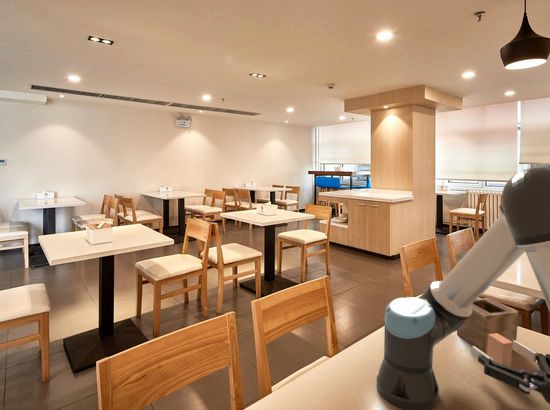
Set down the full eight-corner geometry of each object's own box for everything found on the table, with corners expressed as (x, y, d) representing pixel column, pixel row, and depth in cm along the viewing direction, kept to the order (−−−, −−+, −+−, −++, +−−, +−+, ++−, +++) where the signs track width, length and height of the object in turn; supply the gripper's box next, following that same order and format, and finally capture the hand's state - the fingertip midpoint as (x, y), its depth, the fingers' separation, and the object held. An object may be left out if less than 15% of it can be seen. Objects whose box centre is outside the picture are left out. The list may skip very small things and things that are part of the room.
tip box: (482, 352, 102) (485, 316, 100) (456, 334, 112) (458, 301, 111) (515, 347, 104) (518, 311, 102) (487, 330, 115) (489, 297, 113)
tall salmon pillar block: (500, 377, 90) (503, 343, 89) (485, 366, 95) (488, 334, 94) (510, 376, 91) (512, 342, 89) (494, 365, 95) (497, 333, 94)
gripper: (524, 424, 72) (454, 365, 92) (615, 406, 76) (529, 354, 97) (527, 393, 71) (455, 340, 91) (619, 376, 75) (531, 330, 96)
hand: (493, 347), depth 94 cm, fingers open, 13 cm apart
